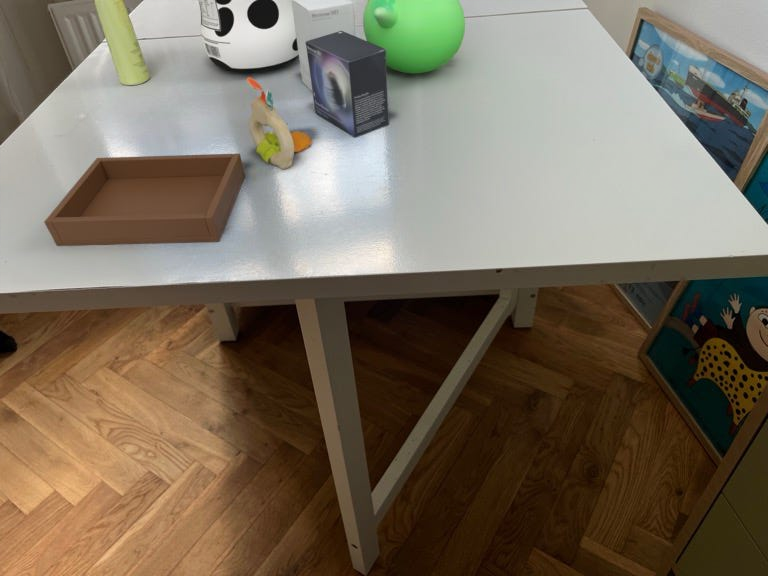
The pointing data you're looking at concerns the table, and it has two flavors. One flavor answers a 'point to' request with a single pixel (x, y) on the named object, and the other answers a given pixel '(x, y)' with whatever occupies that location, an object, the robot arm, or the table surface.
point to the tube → (122, 42)
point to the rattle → (276, 144)
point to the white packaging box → (319, 25)
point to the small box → (349, 82)
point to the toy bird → (415, 32)
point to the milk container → (248, 33)
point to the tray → (149, 200)
